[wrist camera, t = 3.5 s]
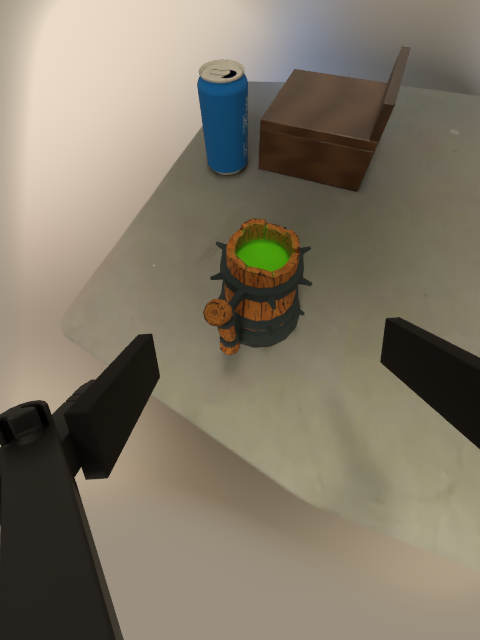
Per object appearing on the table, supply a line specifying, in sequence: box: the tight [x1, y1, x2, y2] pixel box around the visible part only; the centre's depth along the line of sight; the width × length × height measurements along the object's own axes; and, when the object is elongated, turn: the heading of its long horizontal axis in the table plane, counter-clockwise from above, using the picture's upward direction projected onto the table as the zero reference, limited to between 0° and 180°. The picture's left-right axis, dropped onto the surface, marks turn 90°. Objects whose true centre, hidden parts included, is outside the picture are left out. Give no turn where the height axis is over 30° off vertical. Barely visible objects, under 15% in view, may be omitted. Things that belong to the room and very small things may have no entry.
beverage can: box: [197, 60, 248, 175], centre depth 37 cm, size 6×6×12 cm
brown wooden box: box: [259, 47, 410, 191], centre depth 38 cm, size 16×16×11 cm
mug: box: [203, 219, 312, 355], centre depth 24 cm, size 13×10×12 cm
